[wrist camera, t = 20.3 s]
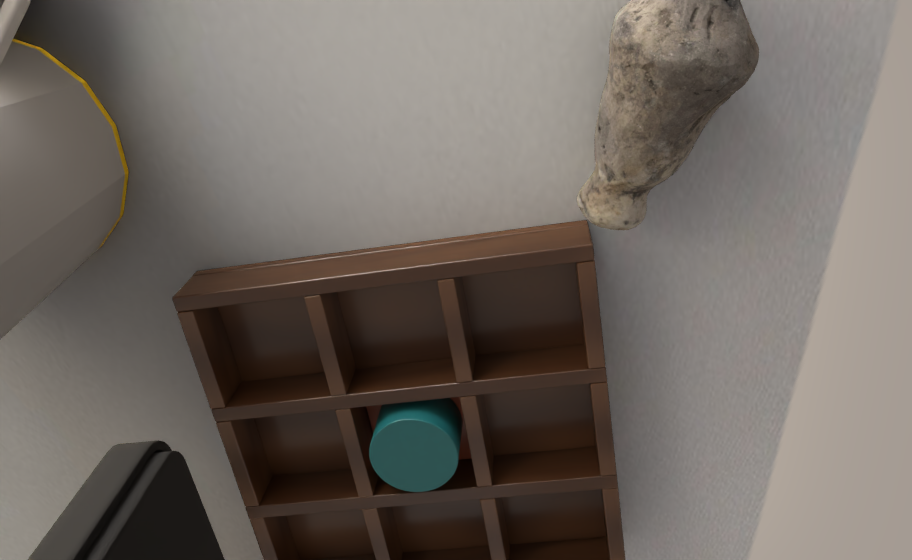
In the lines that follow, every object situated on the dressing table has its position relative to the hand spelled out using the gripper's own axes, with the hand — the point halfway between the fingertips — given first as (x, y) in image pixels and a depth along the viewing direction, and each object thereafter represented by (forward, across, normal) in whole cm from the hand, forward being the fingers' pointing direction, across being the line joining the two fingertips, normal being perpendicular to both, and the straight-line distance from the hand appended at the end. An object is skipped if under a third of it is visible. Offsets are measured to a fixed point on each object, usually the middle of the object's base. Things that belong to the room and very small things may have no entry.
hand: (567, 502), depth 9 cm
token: (+25, +8, +17) cm, 32 cm away
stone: (+27, -5, +2) cm, 27 cm away
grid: (+26, +8, +17) cm, 32 cm away
